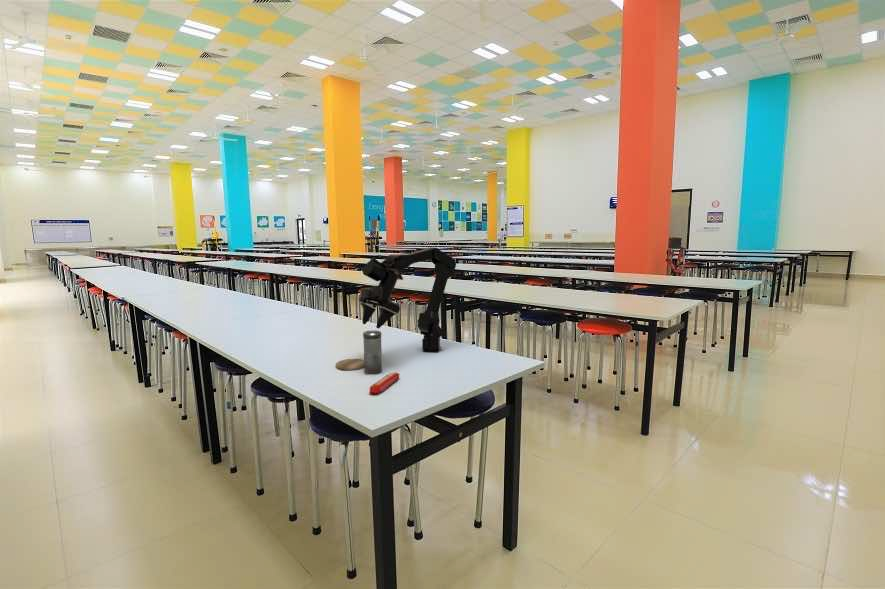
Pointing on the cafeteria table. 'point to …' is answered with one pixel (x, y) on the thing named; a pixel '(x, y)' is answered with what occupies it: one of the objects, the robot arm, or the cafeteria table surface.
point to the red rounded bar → (384, 383)
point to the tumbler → (372, 352)
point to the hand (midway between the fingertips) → (370, 326)
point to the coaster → (350, 364)
